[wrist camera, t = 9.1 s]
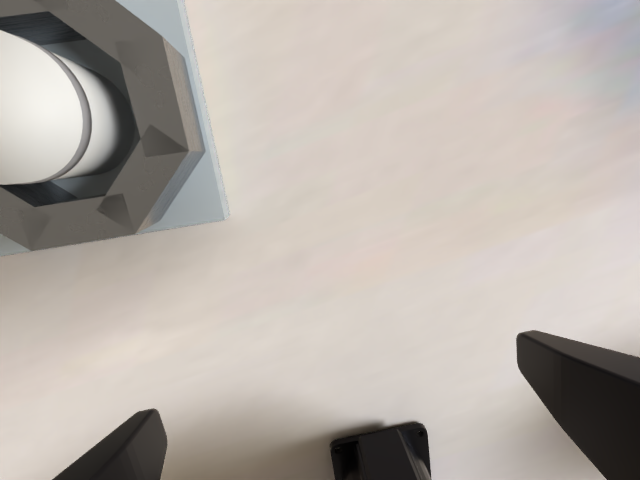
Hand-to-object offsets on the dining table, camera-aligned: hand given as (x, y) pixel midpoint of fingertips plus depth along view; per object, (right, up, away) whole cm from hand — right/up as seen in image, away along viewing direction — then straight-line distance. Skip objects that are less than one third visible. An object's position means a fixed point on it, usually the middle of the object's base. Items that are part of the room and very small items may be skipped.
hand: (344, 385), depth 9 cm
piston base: (-12, +9, +9) cm, 17 cm away
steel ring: (-11, +9, +7) cm, 16 cm away
